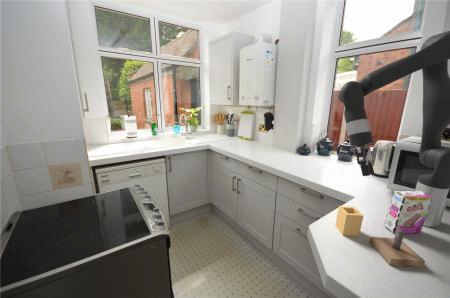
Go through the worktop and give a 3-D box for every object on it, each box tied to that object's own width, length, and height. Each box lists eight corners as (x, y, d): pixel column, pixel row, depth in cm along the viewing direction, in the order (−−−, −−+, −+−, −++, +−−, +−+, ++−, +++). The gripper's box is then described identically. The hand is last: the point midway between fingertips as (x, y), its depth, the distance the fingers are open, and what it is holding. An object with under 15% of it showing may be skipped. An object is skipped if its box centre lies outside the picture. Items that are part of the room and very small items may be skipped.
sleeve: (350, 226, 80) (354, 207, 78) (358, 236, 74) (363, 215, 72) (335, 225, 81) (338, 206, 78) (342, 235, 75) (346, 214, 73)
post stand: (398, 244, 71) (404, 221, 68) (423, 267, 61) (431, 241, 59) (369, 242, 71) (374, 219, 69) (389, 264, 62) (396, 239, 59)
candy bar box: (393, 234, 76) (404, 196, 72) (383, 226, 81) (393, 190, 77) (421, 234, 77) (433, 196, 72) (409, 226, 81) (420, 190, 77)
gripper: (367, 128, 68) (378, 175, 65) (374, 131, 78) (384, 172, 75) (343, 134, 73) (352, 177, 71) (352, 136, 83) (361, 174, 81)
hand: (368, 175), depth 73 cm, fingers open, 8 cm apart
